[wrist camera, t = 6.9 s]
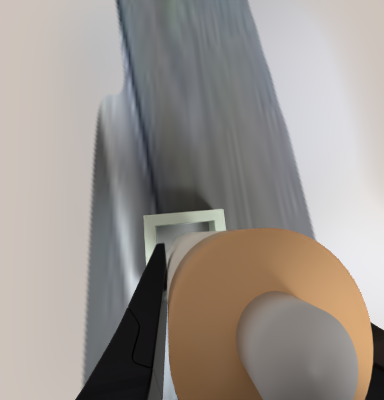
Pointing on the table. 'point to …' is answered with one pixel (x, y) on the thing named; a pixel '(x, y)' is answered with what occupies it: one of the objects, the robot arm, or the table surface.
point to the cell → (264, 319)
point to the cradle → (179, 226)
